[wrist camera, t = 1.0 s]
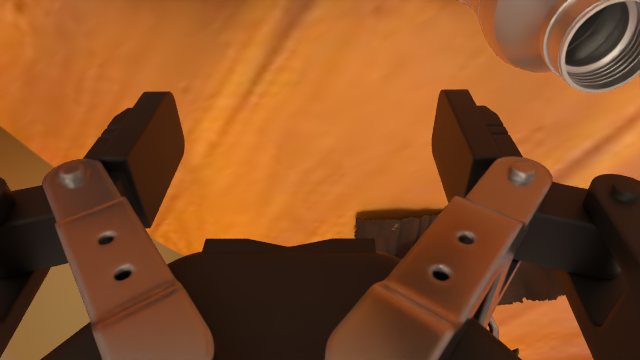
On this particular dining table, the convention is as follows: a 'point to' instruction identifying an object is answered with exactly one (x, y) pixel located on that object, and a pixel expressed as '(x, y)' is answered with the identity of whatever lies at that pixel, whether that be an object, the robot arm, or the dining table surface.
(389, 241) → the potted plant
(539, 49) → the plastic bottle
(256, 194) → the dining table surface
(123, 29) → the dining table surface
